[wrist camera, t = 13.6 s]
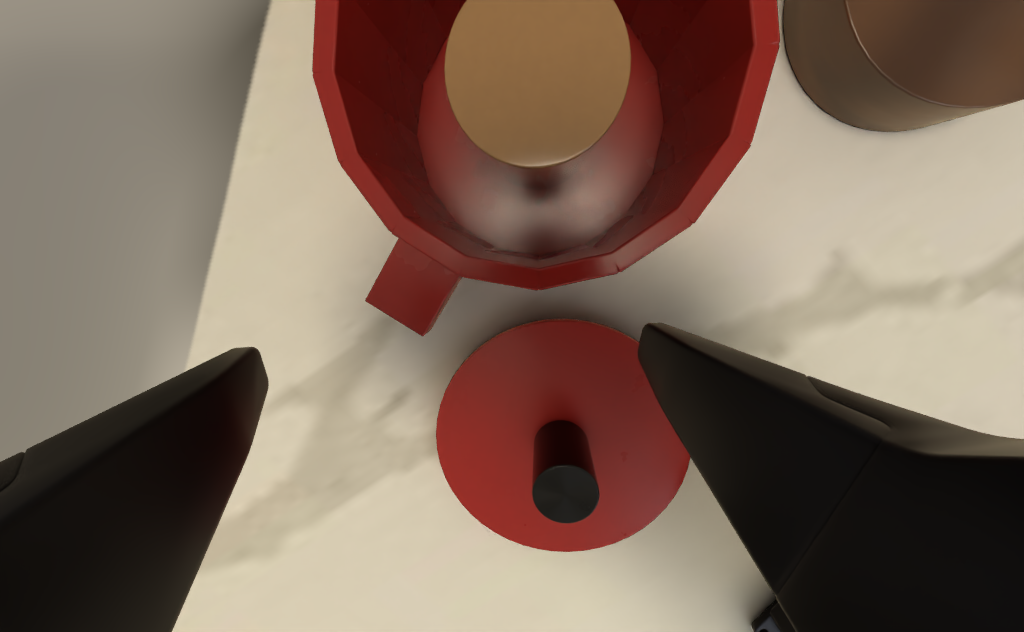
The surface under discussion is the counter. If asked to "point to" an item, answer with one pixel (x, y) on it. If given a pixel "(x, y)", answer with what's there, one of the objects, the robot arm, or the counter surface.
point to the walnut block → (906, 58)
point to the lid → (558, 437)
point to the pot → (518, 211)
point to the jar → (537, 82)
